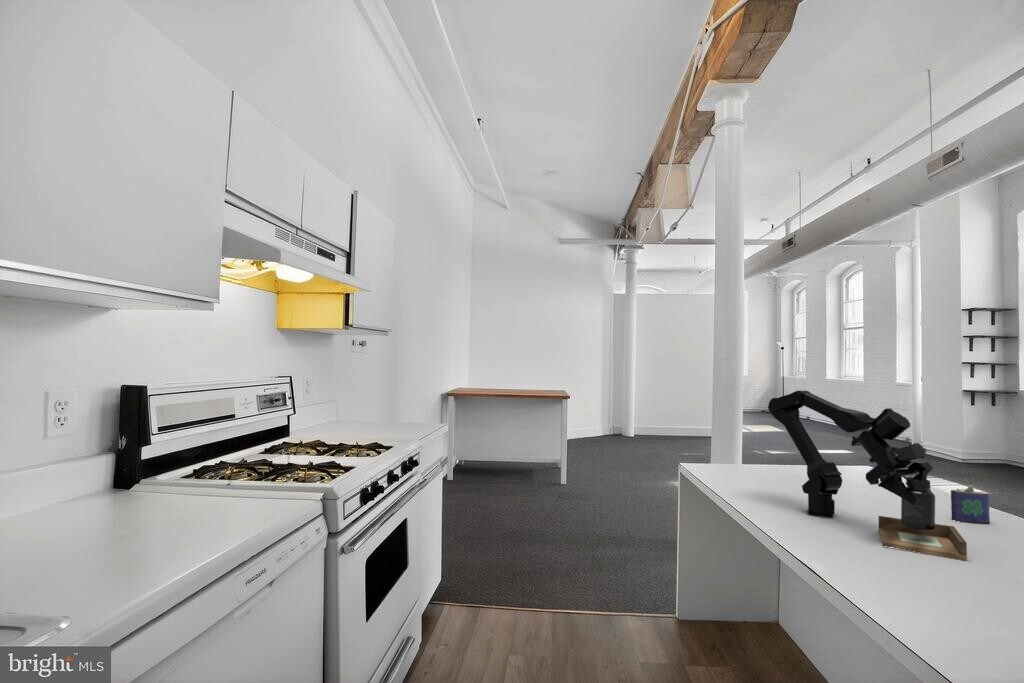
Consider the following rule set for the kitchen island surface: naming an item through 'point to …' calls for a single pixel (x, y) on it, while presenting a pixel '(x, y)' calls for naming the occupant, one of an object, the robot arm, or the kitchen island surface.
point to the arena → (923, 539)
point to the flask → (970, 506)
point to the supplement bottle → (919, 505)
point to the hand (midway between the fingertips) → (923, 501)
